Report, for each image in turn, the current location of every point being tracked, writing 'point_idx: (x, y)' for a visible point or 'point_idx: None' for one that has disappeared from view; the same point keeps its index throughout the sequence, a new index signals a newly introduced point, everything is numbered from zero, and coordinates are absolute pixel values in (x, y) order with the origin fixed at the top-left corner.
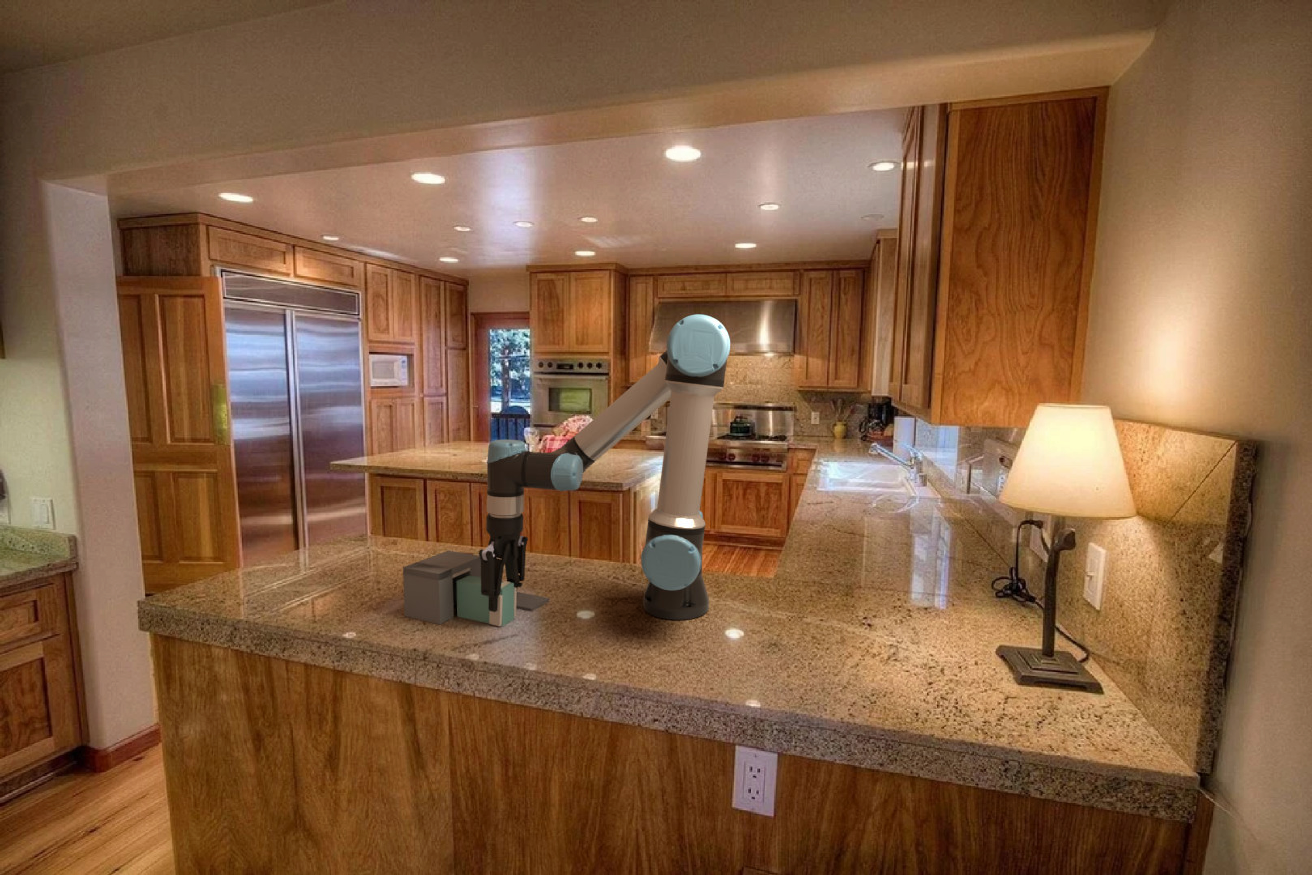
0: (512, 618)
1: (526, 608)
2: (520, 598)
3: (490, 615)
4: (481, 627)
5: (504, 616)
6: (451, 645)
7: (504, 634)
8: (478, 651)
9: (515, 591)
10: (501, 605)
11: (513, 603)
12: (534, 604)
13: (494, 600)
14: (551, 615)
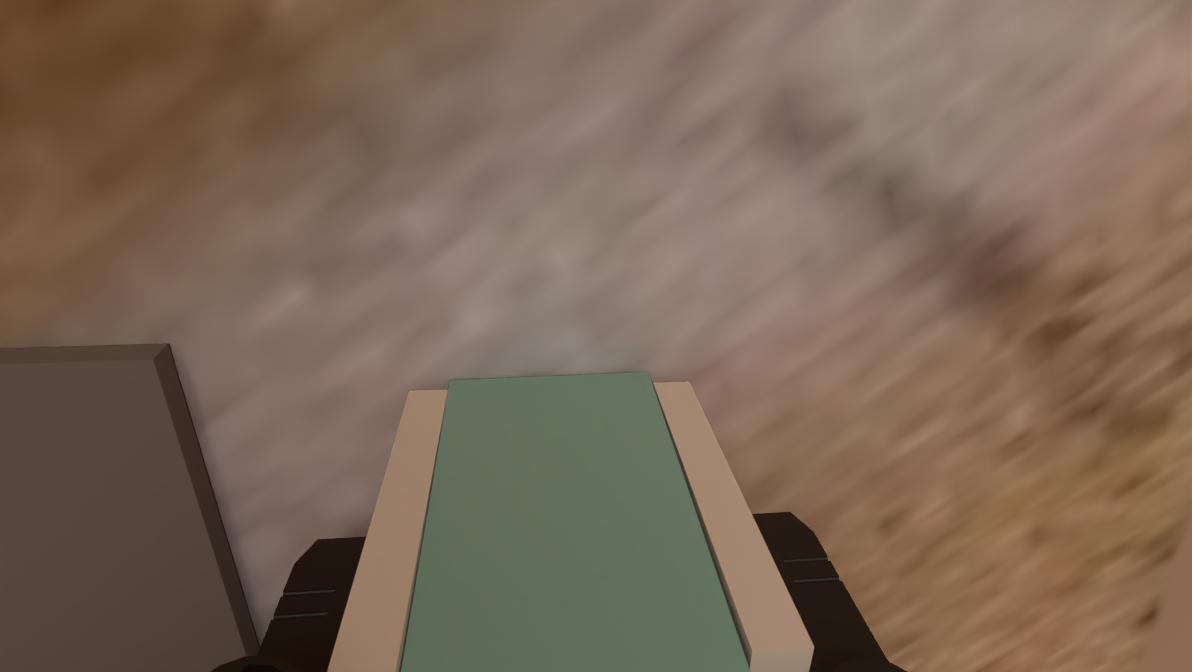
0: (478, 388)
1: (178, 419)
2: (31, 612)
3: None
4: None
5: (625, 425)
6: (1086, 477)
7: (805, 239)
8: (1186, 226)
9: (377, 630)
10: (727, 527)
11: (440, 498)
12: (30, 406)
13: (866, 636)
14: (76, 37)
